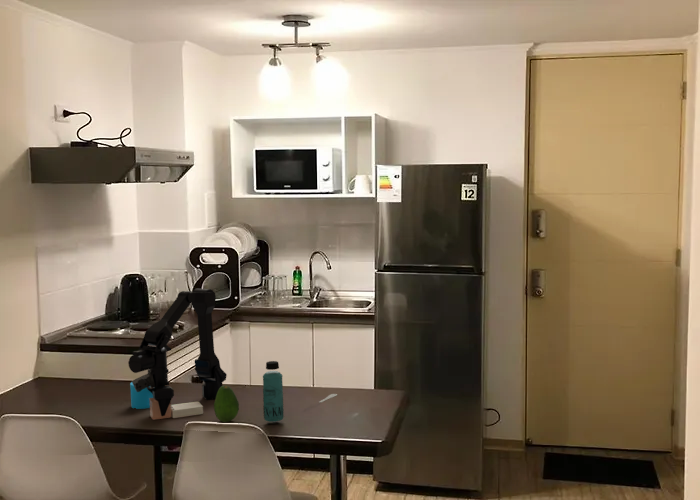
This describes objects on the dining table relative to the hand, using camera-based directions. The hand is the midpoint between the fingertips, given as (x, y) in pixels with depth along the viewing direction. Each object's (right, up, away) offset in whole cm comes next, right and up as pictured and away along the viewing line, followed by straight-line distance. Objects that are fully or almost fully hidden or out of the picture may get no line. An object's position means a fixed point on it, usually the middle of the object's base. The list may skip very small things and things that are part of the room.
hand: (160, 412), depth 266 cm
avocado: (+23, -2, -7) cm, 24 cm away
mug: (-9, -1, +16) cm, 18 cm away
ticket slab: (+8, -1, +3) cm, 9 cm away
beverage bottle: (+39, -2, -10) cm, 40 cm away
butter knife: (+52, 0, +11) cm, 54 cm away
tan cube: (0, -2, 0) cm, 2 cm away
